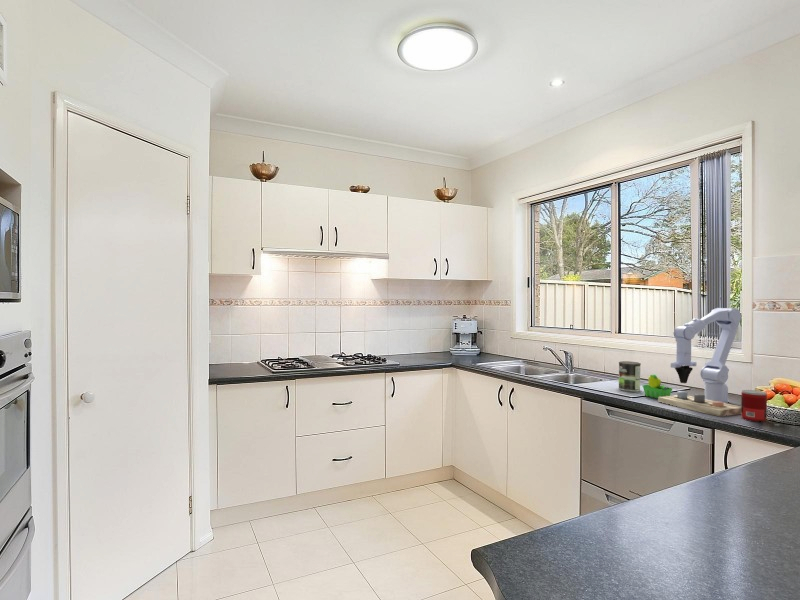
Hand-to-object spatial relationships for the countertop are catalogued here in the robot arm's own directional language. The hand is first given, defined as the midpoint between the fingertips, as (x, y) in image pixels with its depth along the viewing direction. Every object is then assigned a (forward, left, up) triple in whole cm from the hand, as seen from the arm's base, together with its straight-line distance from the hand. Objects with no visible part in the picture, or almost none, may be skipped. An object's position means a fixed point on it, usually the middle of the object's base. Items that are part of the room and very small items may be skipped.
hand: (683, 382), depth 214 cm
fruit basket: (-1, -14, -10) cm, 17 cm away
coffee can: (-5, -33, -10) cm, 35 cm away
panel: (0, +8, -9) cm, 12 cm away
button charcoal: (0, +8, -8) cm, 11 cm away
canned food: (0, +30, -10) cm, 31 cm away
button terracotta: (0, +16, -9) cm, 18 cm away
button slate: (0, -1, -8) cm, 8 cm away
